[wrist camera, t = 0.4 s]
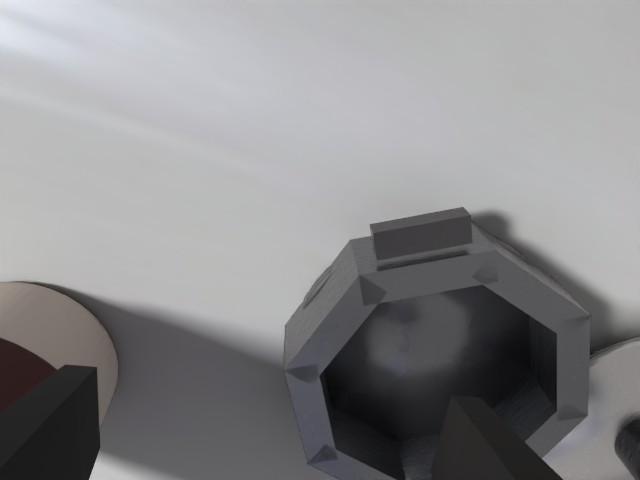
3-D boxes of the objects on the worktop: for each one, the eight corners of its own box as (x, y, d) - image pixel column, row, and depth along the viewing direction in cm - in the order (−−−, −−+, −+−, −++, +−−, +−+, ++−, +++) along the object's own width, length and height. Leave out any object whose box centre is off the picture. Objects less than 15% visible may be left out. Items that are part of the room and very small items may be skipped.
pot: (554, 444, 24) (587, 498, 21) (322, 484, 24) (325, 542, 22) (553, 169, 19) (597, 194, 16) (257, 224, 19) (251, 258, 16)
